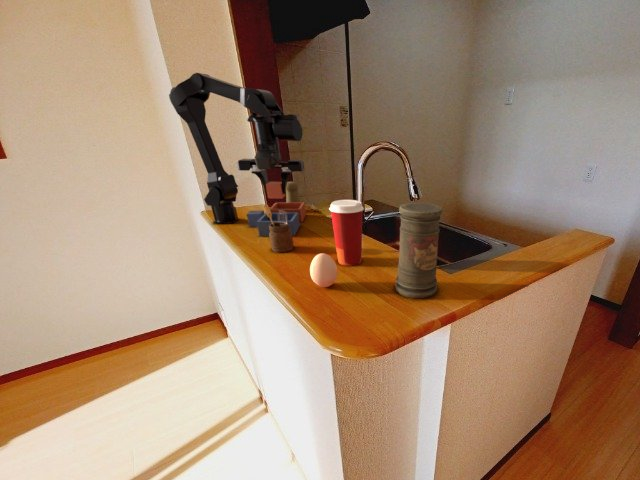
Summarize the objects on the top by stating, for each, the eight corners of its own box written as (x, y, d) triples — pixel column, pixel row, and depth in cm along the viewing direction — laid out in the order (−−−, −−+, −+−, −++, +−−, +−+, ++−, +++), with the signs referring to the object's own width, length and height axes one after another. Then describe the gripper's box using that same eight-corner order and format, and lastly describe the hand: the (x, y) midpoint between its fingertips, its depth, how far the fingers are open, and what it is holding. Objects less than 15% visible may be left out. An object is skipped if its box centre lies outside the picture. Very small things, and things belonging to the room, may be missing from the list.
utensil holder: (285, 254, 86) (278, 209, 80) (266, 250, 88) (257, 207, 82) (298, 247, 91) (292, 204, 85) (279, 244, 93) (272, 202, 87)
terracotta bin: (271, 222, 112) (268, 209, 109) (277, 214, 121) (275, 202, 119) (301, 222, 113) (300, 209, 111) (306, 214, 122) (304, 202, 120)
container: (387, 288, 70) (387, 205, 61) (415, 276, 76) (419, 199, 67) (417, 303, 65) (422, 215, 56) (444, 290, 70) (453, 207, 61)
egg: (343, 286, 70) (341, 254, 67) (320, 294, 67) (316, 261, 63) (329, 278, 74) (326, 247, 70) (307, 285, 71) (302, 253, 67)
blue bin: (259, 236, 99) (256, 221, 97) (267, 226, 108) (265, 212, 106) (294, 235, 100) (292, 221, 98) (299, 226, 109) (298, 212, 107)
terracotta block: (268, 198, 101) (265, 184, 99) (271, 195, 105) (269, 181, 102) (282, 198, 101) (280, 184, 99) (285, 195, 105) (283, 181, 103)
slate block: (249, 226, 107) (246, 213, 105) (253, 223, 111) (250, 210, 108) (262, 226, 107) (260, 213, 105) (266, 223, 111) (263, 210, 109)
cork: (285, 209, 128) (281, 181, 122) (300, 208, 130) (297, 180, 124) (287, 213, 123) (283, 183, 117) (303, 212, 125) (299, 182, 120)
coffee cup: (370, 257, 86) (368, 200, 78) (358, 269, 79) (355, 208, 71) (341, 253, 88) (337, 197, 80) (327, 265, 81) (321, 205, 73)
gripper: (224, 140, 87) (237, 199, 95) (294, 142, 89) (301, 199, 96) (238, 138, 96) (249, 191, 104) (301, 140, 98) (307, 192, 106)
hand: (276, 193), depth 102 cm, fingers closed on terracotta block, 4 cm apart
